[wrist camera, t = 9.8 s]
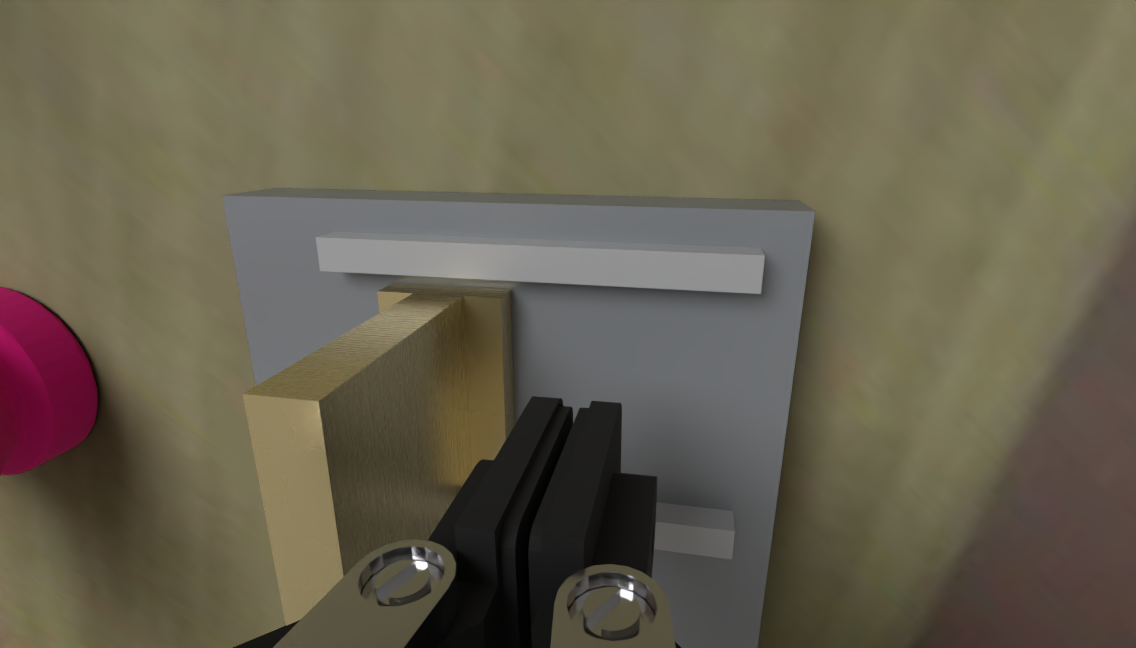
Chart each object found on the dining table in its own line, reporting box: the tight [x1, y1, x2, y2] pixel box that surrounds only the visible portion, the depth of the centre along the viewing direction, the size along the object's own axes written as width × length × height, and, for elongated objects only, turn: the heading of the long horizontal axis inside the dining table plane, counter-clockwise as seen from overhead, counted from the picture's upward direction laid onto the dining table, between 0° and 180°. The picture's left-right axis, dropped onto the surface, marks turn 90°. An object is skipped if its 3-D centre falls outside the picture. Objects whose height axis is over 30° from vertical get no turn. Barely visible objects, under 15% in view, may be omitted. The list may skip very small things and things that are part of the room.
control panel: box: [222, 188, 815, 648], centre depth 18 cm, size 27×14×3 cm, turn 0°
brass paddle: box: [243, 283, 515, 625], centre depth 12 cm, size 5×3×6 cm, turn 0°
